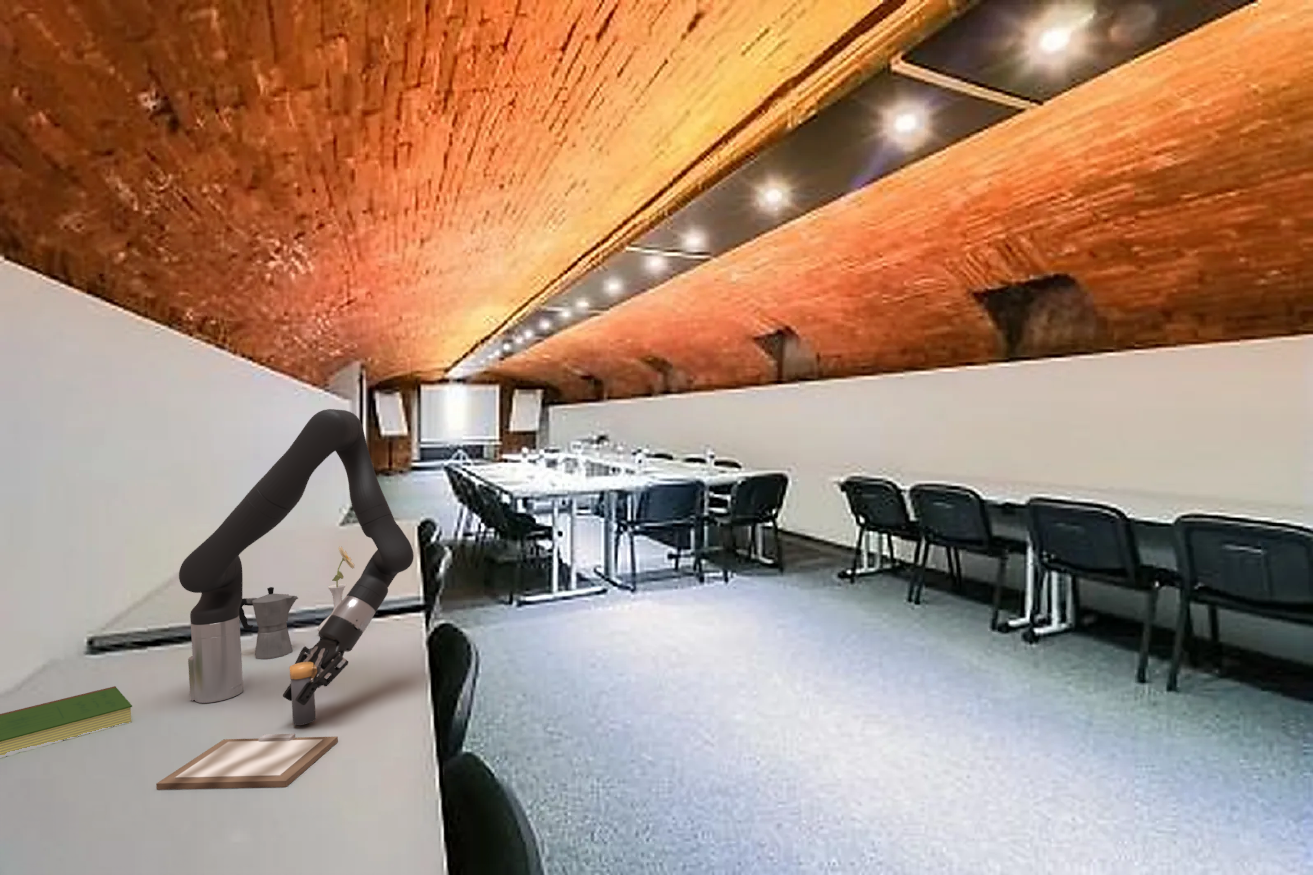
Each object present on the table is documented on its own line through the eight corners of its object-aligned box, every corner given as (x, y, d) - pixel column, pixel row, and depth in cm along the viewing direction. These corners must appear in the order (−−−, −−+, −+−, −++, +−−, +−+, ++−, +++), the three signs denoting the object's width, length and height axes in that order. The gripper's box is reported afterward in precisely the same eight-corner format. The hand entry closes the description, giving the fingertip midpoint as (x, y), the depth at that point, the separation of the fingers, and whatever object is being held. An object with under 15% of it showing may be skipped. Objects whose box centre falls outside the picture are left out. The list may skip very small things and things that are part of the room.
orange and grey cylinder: (287, 725, 133) (285, 669, 133) (300, 716, 137) (297, 662, 137) (308, 725, 133) (305, 668, 133) (320, 715, 137) (317, 661, 137)
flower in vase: (349, 637, 196) (345, 550, 196) (310, 639, 196) (305, 552, 196) (369, 624, 209) (365, 543, 209) (332, 626, 209) (328, 544, 209)
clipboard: (156, 789, 112) (155, 778, 112) (223, 744, 127) (223, 735, 127) (286, 787, 110) (285, 775, 110) (337, 741, 126) (337, 732, 126)
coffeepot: (305, 646, 189) (302, 581, 189) (295, 656, 180) (291, 588, 180) (244, 652, 186) (240, 586, 186) (230, 663, 177) (227, 594, 176)
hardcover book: (116, 702, 153) (115, 686, 153) (133, 723, 141) (132, 705, 141) (-43, 743, 135) (-44, 724, 135) (-40, 772, 122) (-41, 751, 122)
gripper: (315, 610, 145) (259, 686, 135) (355, 617, 137) (299, 698, 127) (340, 628, 149) (287, 703, 139) (380, 636, 142) (327, 716, 132)
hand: (293, 700), depth 133 cm, fingers closed on orange and grey cylinder, 4 cm apart
